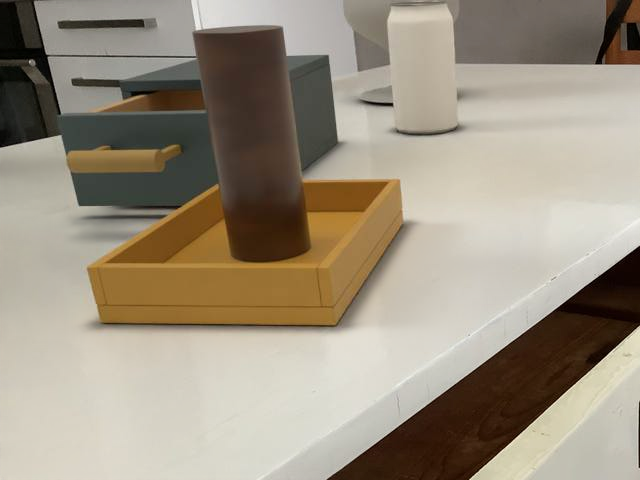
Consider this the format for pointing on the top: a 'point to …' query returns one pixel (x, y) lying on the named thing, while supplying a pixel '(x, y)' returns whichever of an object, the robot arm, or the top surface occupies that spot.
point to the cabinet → (306, 88)
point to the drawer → (140, 150)
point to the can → (422, 67)
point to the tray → (250, 277)
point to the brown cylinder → (254, 140)
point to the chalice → (379, 31)
